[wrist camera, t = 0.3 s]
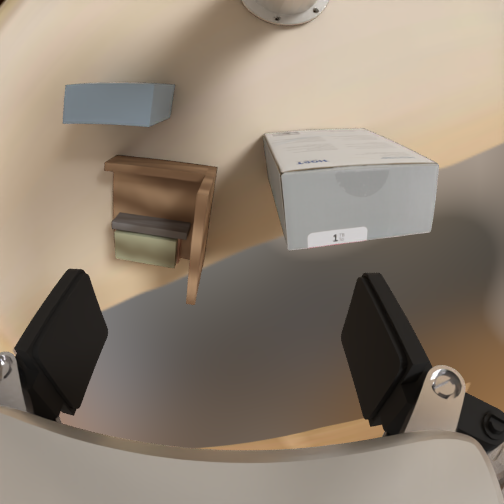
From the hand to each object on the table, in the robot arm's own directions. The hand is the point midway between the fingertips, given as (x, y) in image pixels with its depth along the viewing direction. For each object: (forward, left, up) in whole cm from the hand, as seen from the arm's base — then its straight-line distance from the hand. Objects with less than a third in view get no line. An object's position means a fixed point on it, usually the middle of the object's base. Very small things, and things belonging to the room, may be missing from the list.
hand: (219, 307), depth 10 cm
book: (-4, -16, -35) cm, 39 cm away
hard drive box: (0, +12, -36) cm, 37 cm away
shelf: (+13, -10, -35) cm, 39 cm away
